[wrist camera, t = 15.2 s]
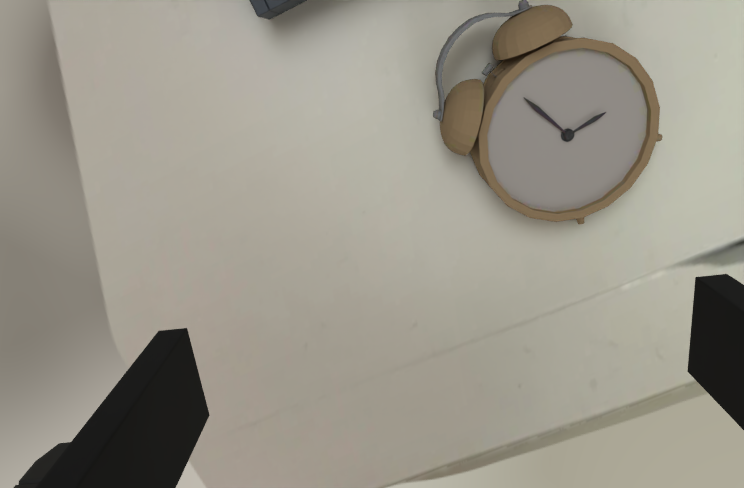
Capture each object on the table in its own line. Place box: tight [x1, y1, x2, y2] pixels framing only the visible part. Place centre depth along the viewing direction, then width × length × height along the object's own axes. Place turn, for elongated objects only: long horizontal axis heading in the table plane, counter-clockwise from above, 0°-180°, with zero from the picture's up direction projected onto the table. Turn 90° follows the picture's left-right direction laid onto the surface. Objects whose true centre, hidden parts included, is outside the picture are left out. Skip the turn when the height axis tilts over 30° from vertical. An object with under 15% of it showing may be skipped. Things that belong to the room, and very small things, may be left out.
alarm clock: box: [433, 0, 662, 224], centre depth 35 cm, size 11×5×15 cm
